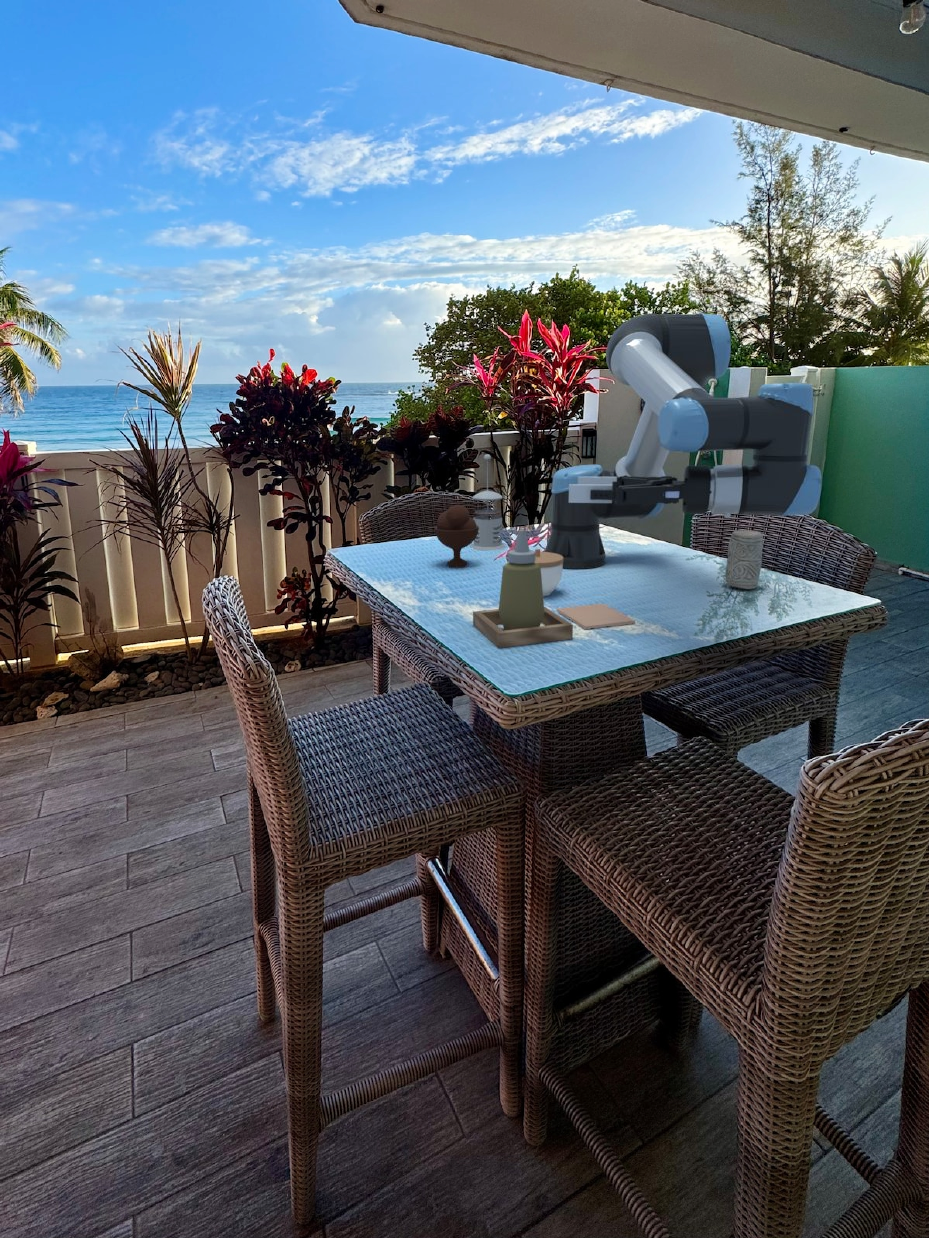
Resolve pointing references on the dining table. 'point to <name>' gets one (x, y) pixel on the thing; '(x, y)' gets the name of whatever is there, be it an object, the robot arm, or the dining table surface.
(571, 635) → the wooden frame
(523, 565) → the squeeze bottle
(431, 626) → the dining table surface
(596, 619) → the tile
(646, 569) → the dining table surface
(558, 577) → the lidded jar
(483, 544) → the french press
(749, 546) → the carving
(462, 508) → the ice cream bowl
